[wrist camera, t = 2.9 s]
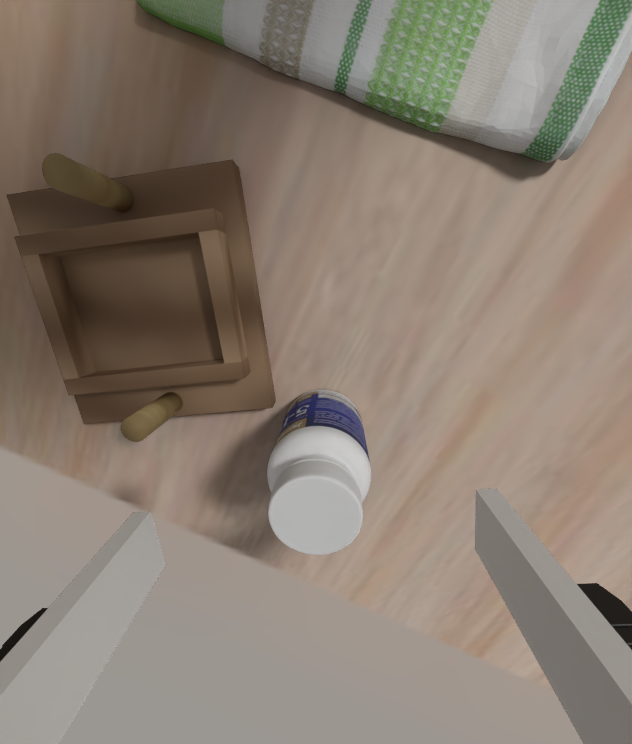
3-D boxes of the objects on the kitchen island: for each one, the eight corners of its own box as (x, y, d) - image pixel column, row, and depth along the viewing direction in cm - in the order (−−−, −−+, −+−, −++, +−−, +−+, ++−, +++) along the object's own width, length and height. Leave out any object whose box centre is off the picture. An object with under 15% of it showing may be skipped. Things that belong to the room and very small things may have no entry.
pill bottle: (301, 376, 20) (277, 440, 12) (373, 404, 21) (402, 488, 12) (274, 442, 22) (236, 543, 13) (342, 468, 22) (348, 583, 14)
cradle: (27, 200, 18) (-88, 168, 13) (239, 168, 17) (200, 120, 12) (97, 416, 22) (27, 455, 17) (275, 401, 21) (257, 437, 16)
